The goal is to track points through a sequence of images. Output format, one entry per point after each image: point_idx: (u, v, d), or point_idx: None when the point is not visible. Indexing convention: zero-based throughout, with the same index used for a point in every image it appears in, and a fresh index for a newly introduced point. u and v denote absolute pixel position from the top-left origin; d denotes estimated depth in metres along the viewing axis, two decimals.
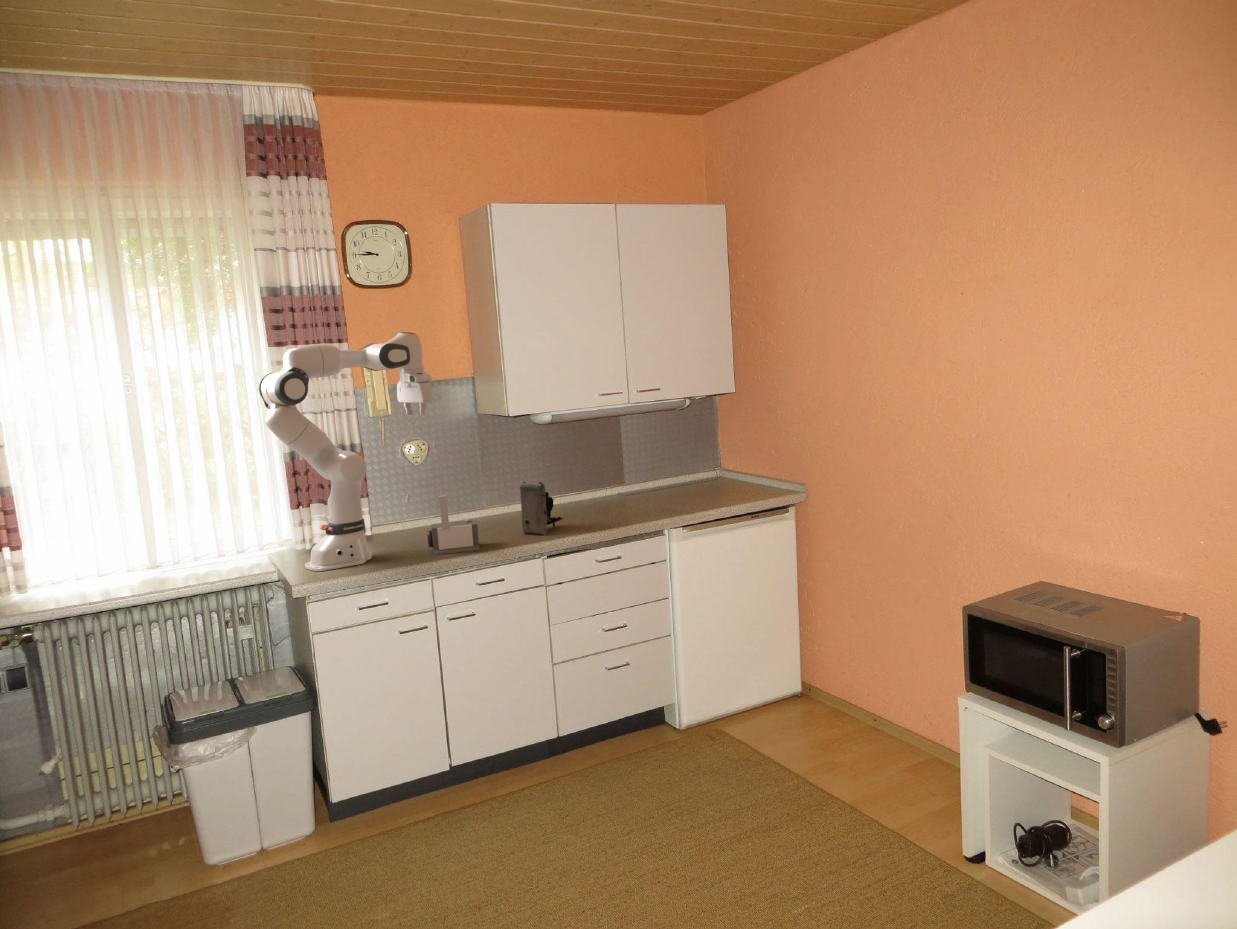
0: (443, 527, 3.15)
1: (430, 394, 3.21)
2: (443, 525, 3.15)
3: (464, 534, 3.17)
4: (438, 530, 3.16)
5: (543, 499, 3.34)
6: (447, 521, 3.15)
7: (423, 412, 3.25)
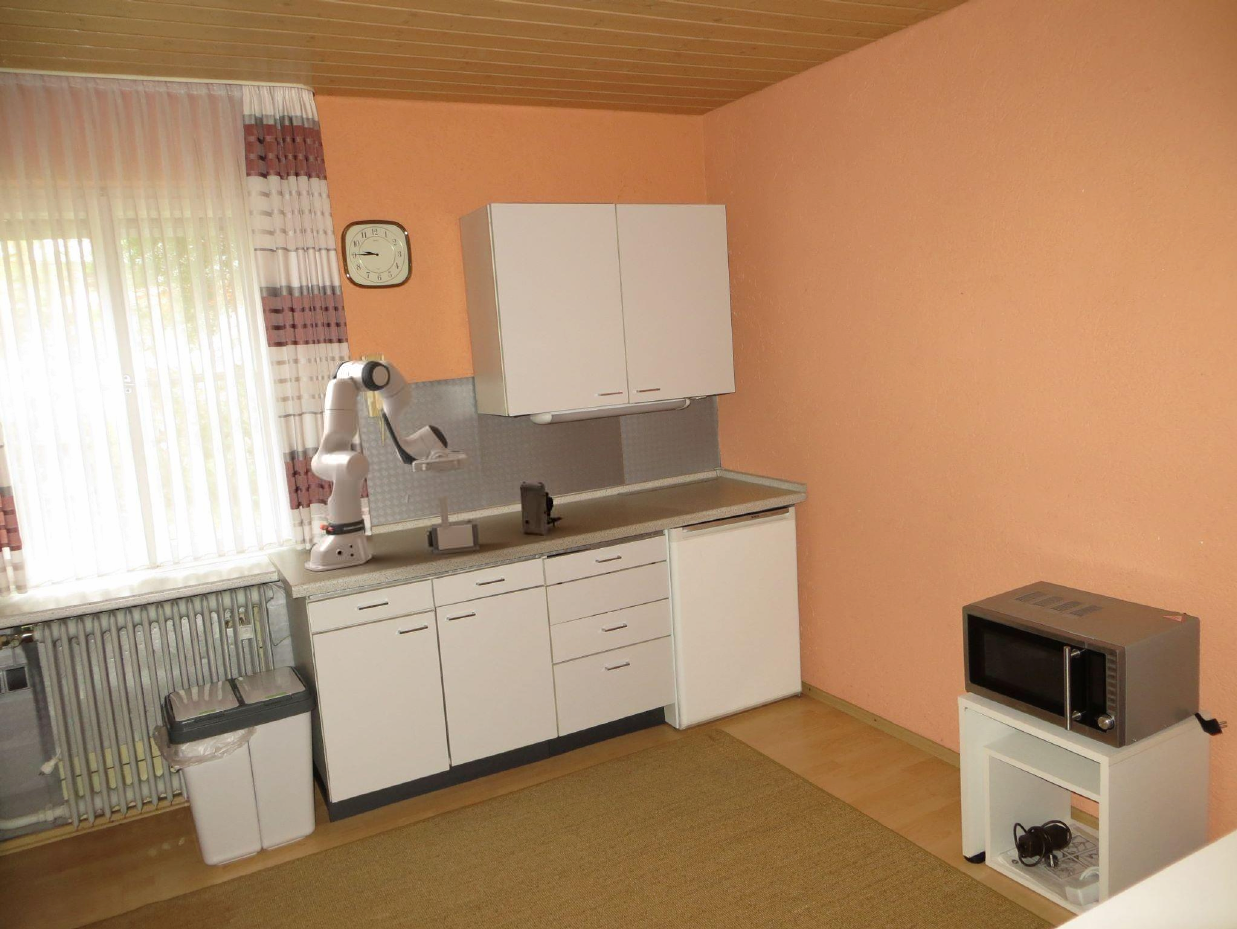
0: (443, 527, 3.15)
1: None
2: (443, 525, 3.15)
3: (464, 534, 3.17)
4: (438, 530, 3.16)
5: (543, 499, 3.34)
6: (447, 521, 3.15)
7: (455, 465, 3.27)
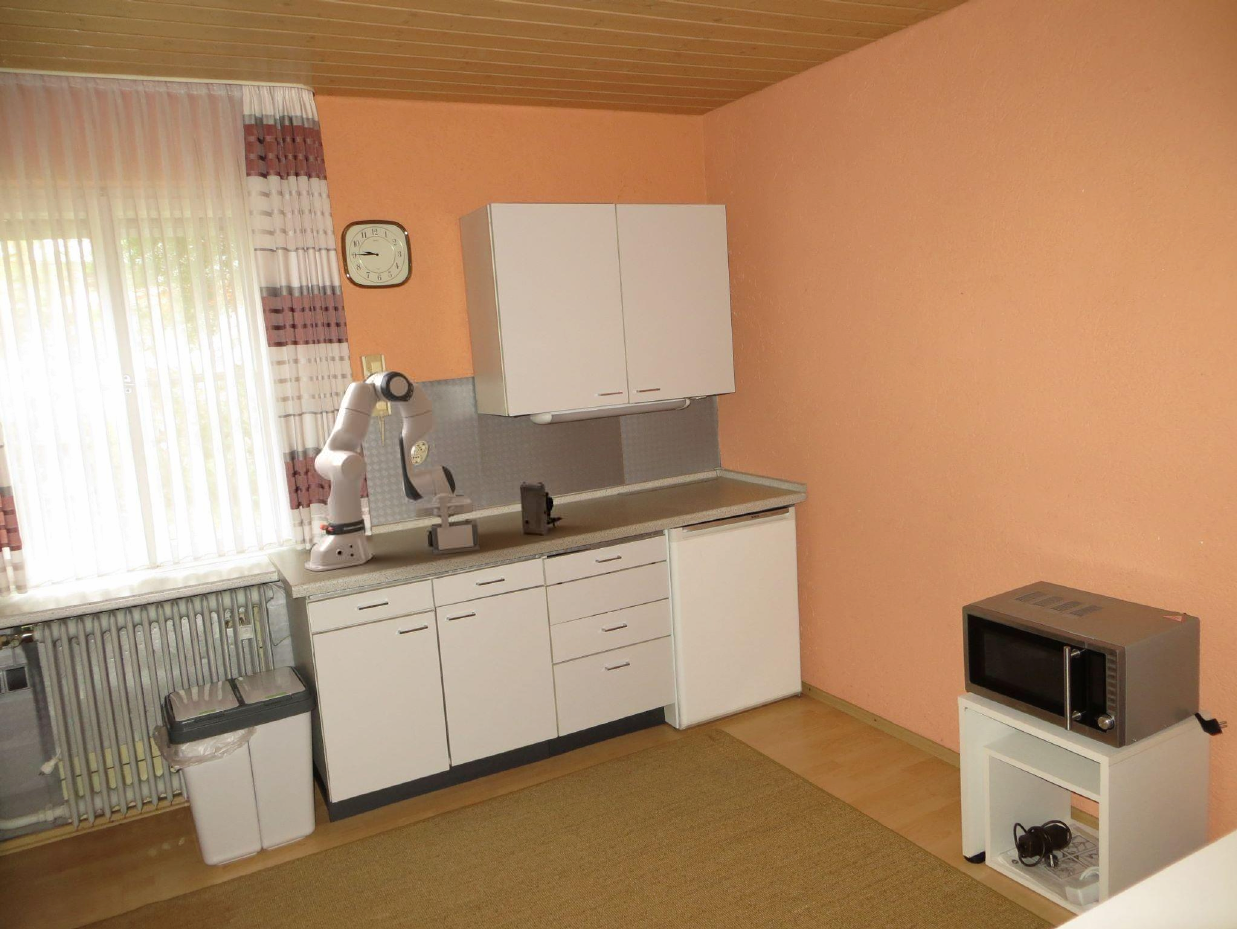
0: (443, 527, 3.15)
1: None
2: (443, 525, 3.15)
3: (464, 534, 3.17)
4: (438, 530, 3.16)
5: (543, 499, 3.34)
6: (447, 521, 3.15)
7: (452, 512, 3.16)
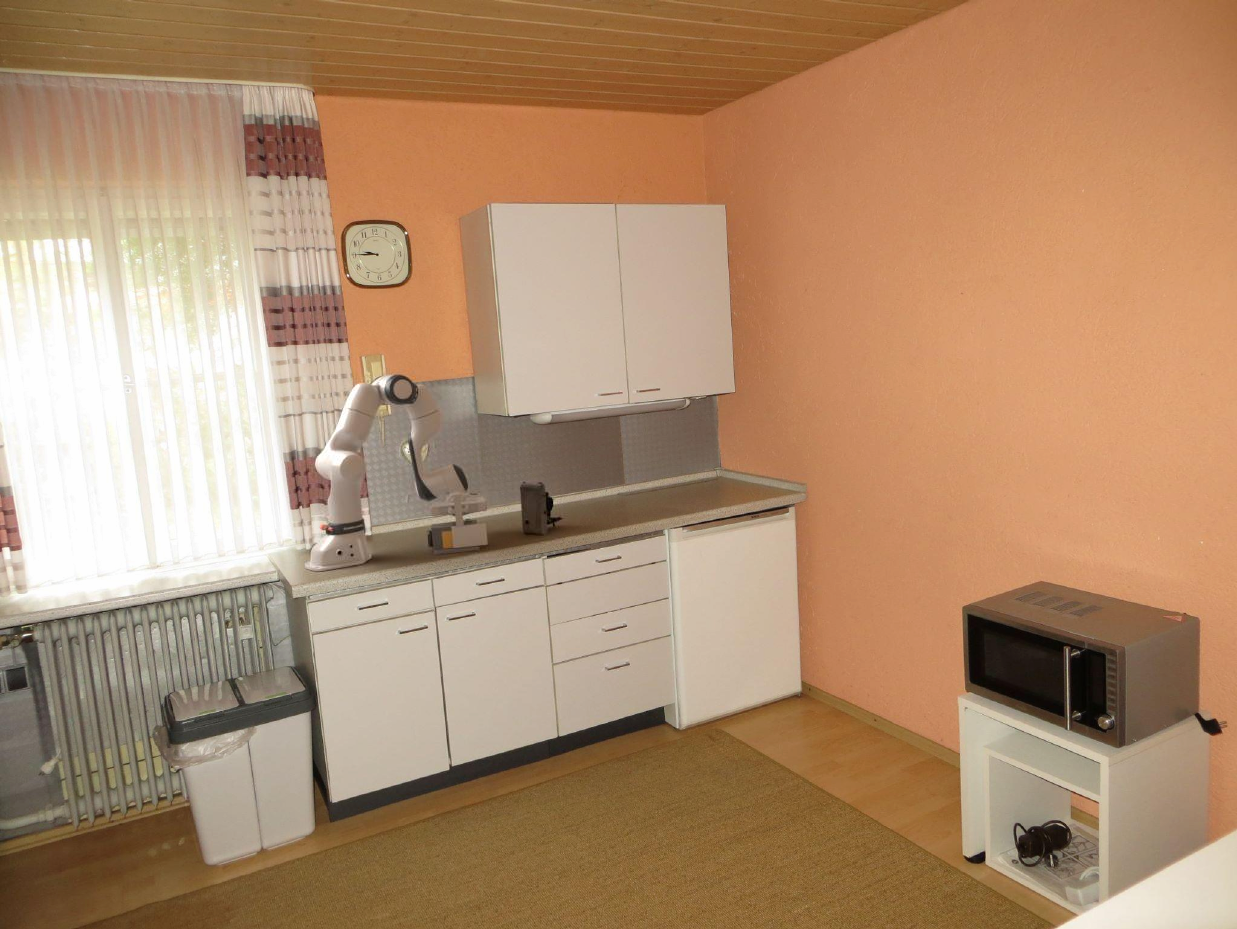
0: (457, 526, 3.16)
1: None
2: (457, 524, 3.16)
3: (478, 533, 3.18)
4: (452, 529, 3.16)
5: (543, 499, 3.34)
6: (461, 520, 3.16)
7: (466, 510, 3.17)
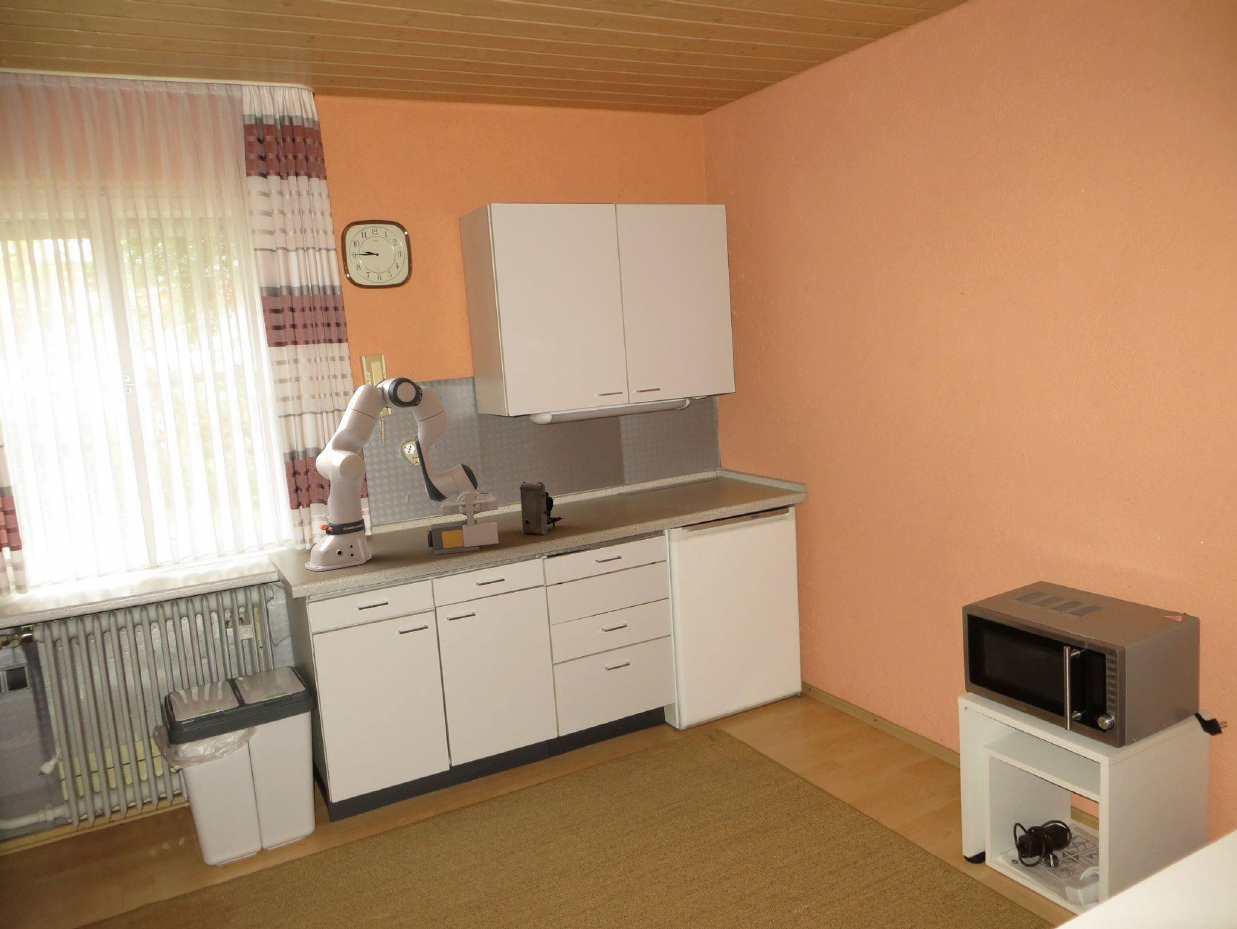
0: (468, 524, 3.17)
1: None
2: (468, 522, 3.17)
3: (489, 531, 3.19)
4: (463, 527, 3.17)
5: (543, 499, 3.34)
6: (472, 518, 3.17)
7: (477, 509, 3.18)
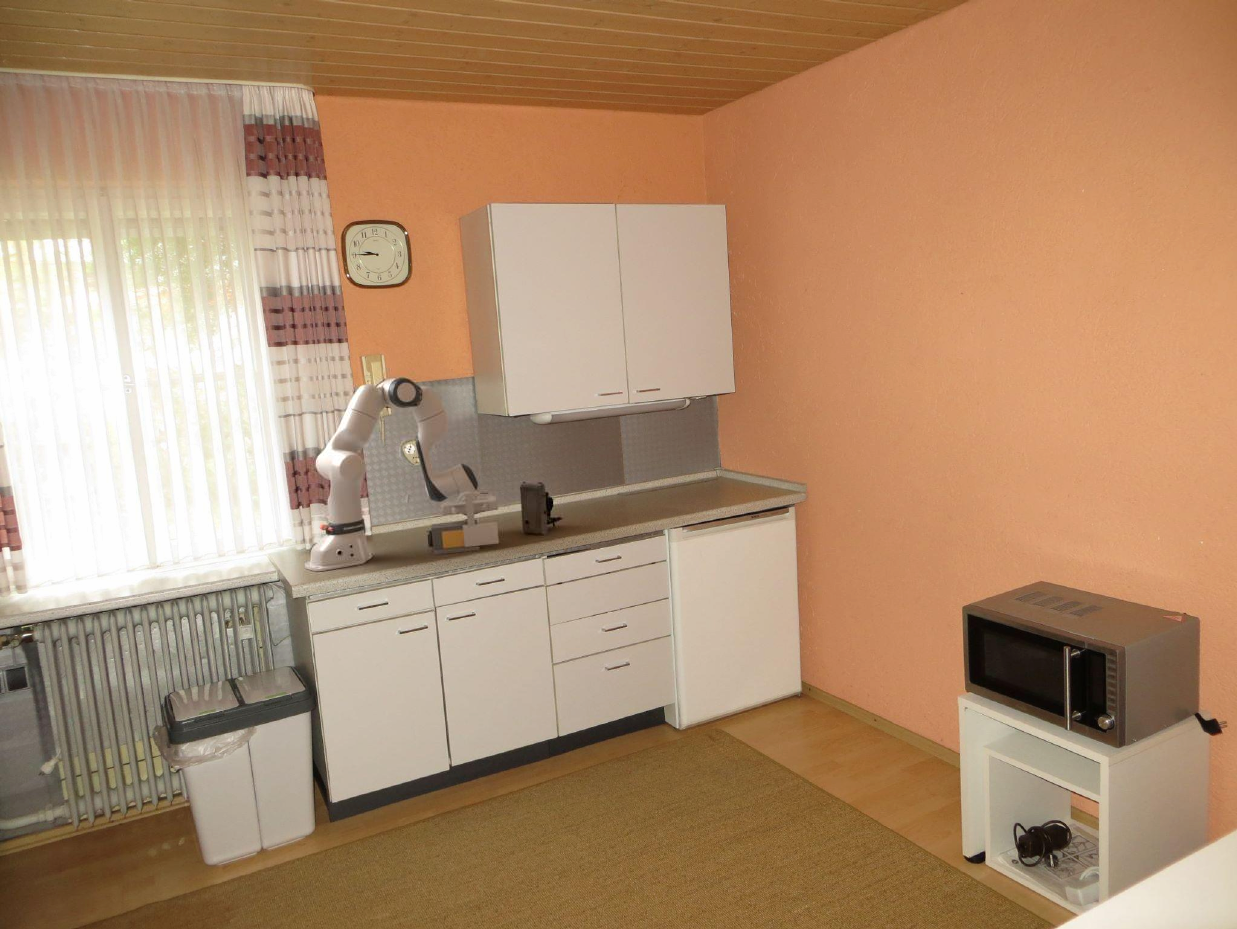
0: (469, 524, 3.17)
1: None
2: (469, 522, 3.17)
3: (489, 531, 3.19)
4: (464, 527, 3.17)
5: (543, 499, 3.34)
6: (473, 518, 3.17)
7: (485, 508, 3.18)
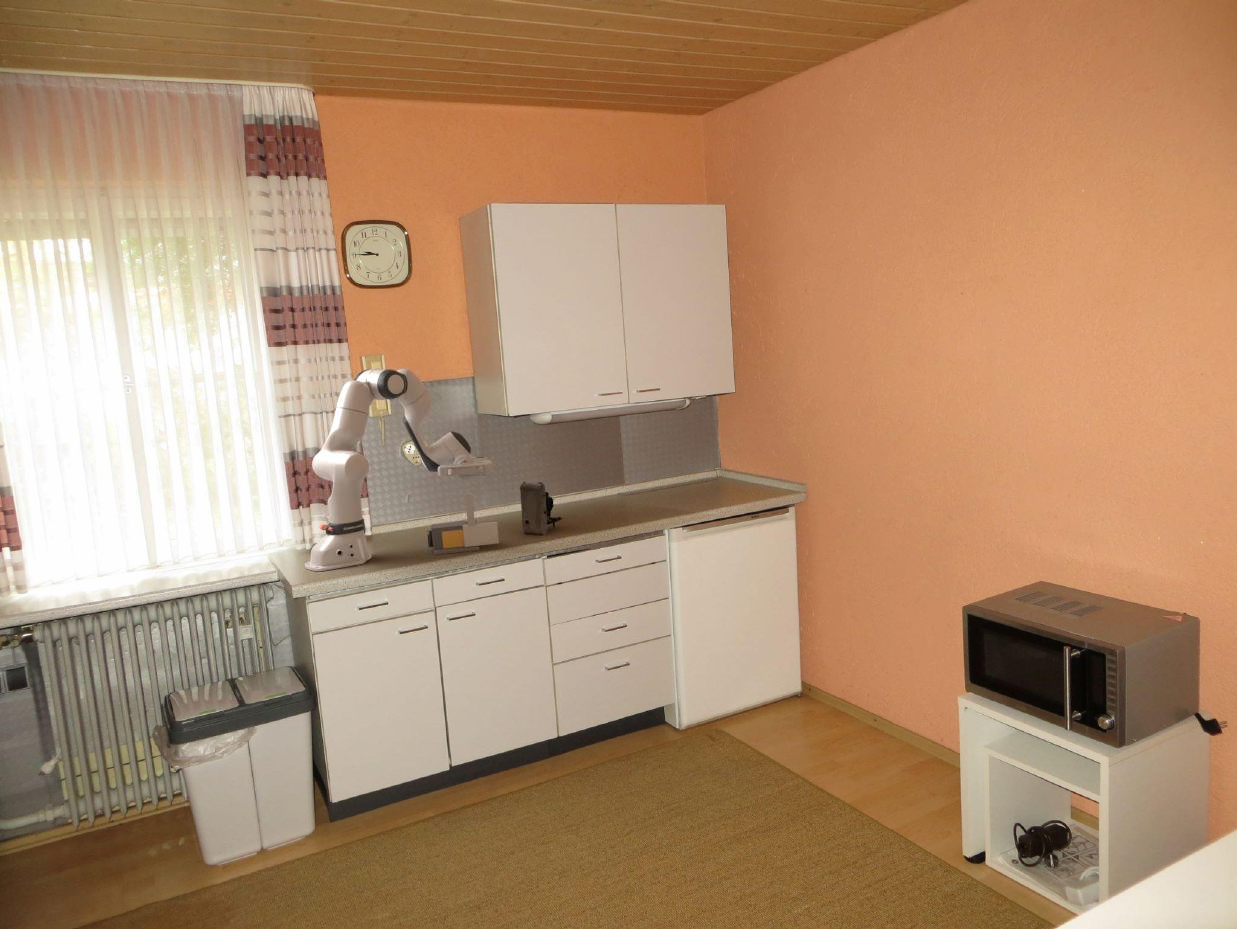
0: (469, 524, 3.17)
1: None
2: (469, 522, 3.17)
3: (489, 531, 3.19)
4: (464, 527, 3.17)
5: (543, 499, 3.34)
6: (473, 518, 3.17)
7: (481, 470, 3.29)
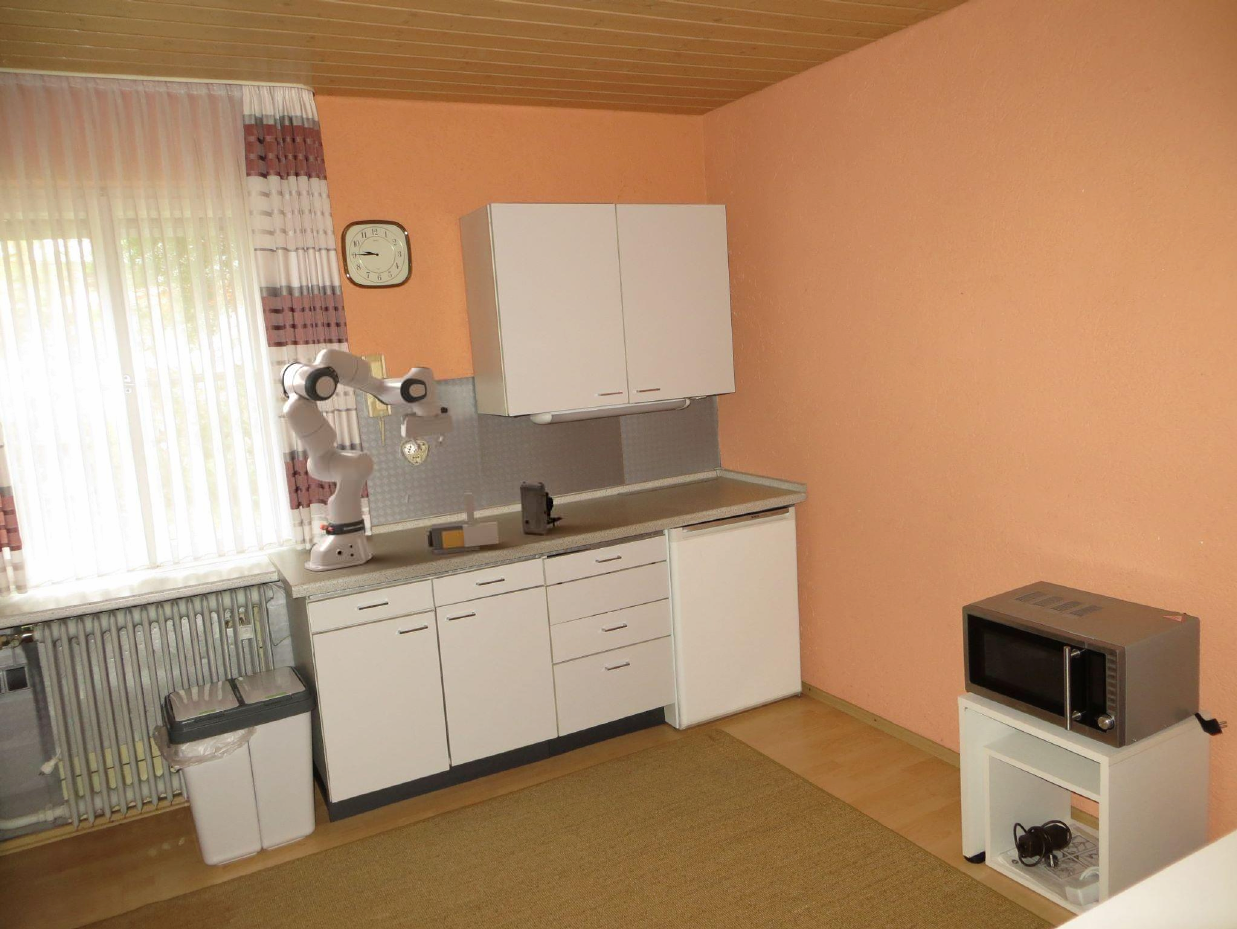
0: (469, 524, 3.17)
1: None
2: (469, 522, 3.17)
3: (489, 531, 3.19)
4: (464, 527, 3.17)
5: (543, 499, 3.34)
6: (473, 518, 3.17)
7: None
